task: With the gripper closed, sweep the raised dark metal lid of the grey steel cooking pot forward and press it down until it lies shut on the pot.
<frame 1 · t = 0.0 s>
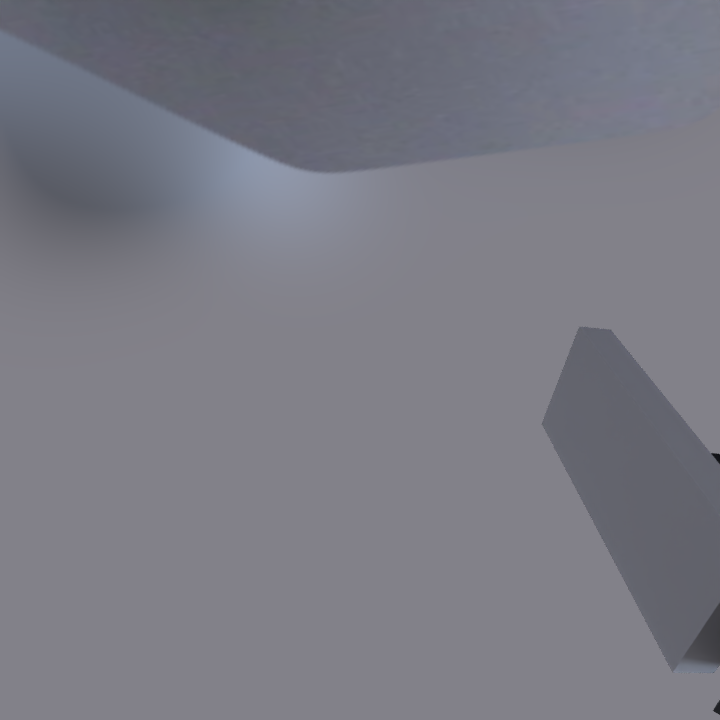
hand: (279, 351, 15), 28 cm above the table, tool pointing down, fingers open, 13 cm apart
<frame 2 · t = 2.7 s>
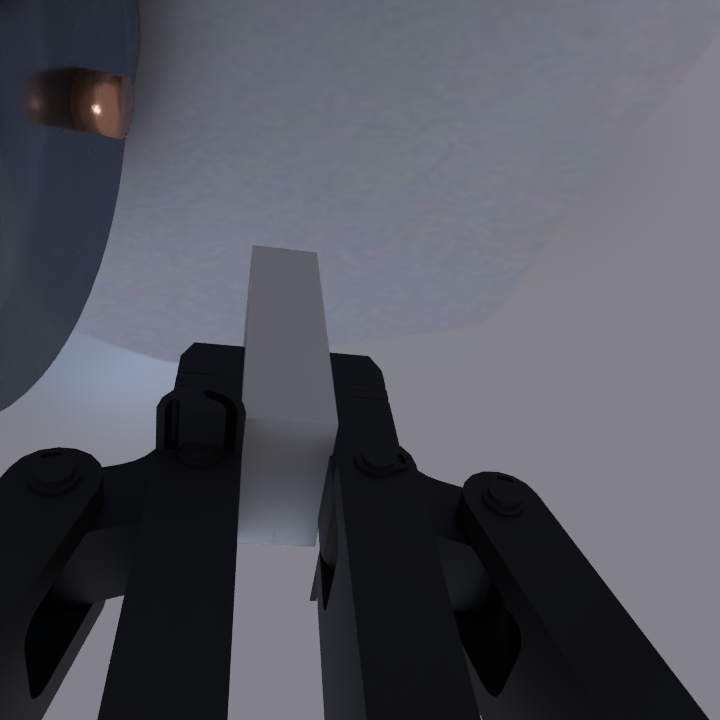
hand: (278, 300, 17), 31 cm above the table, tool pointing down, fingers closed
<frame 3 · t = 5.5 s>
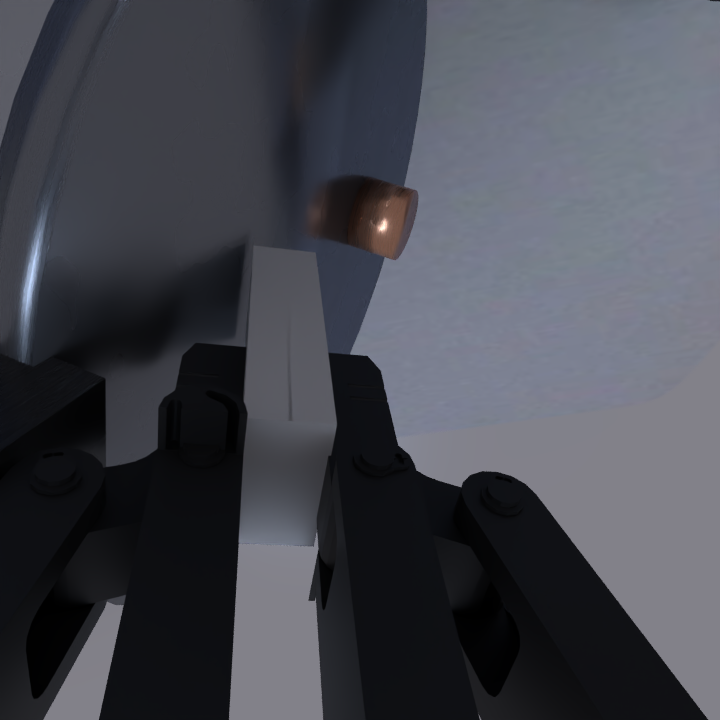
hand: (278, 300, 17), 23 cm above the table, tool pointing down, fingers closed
pot lid: (268, 286, 17), point 23 cm above the table, hinge at 62.5°, touching gripper
cooking pot: (158, 76, 35), on the table
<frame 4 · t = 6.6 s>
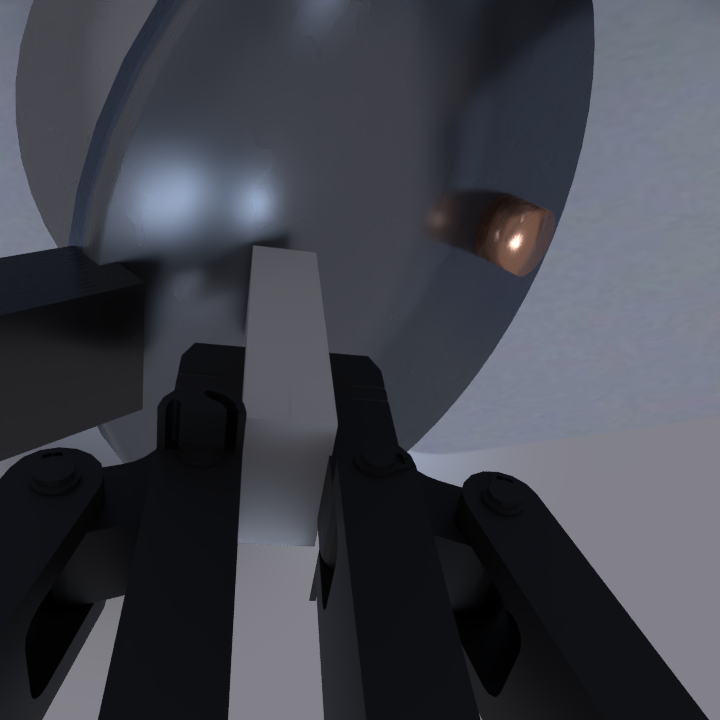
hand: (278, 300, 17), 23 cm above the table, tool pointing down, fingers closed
pot lid: (360, 266, 19), point 20 cm above the table, hinge at 40.2°, touching gripper
cooking pot: (289, 98, 36), on the table
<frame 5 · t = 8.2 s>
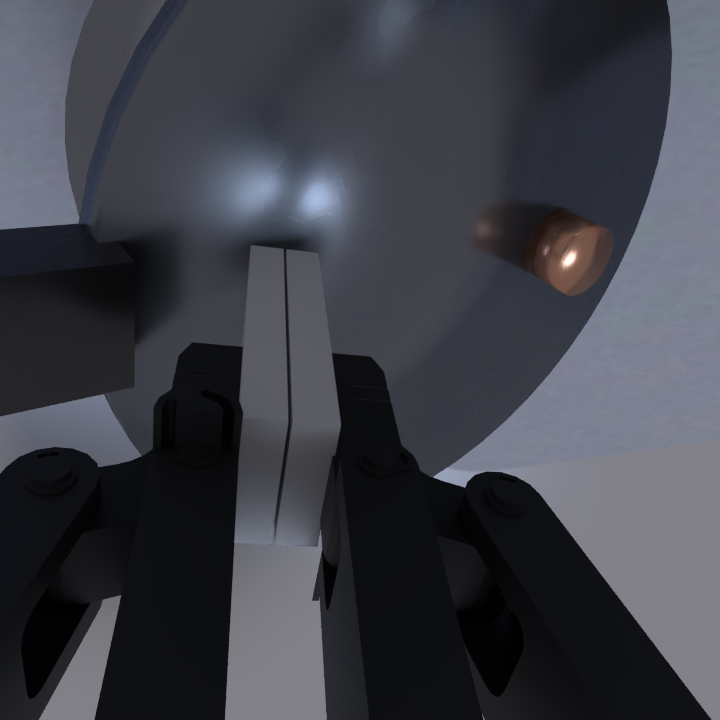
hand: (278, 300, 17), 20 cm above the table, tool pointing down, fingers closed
pot lid: (385, 270, 19), point 18 cm above the table, hinge at 29.9°
cooking pot: (335, 108, 34), on the table
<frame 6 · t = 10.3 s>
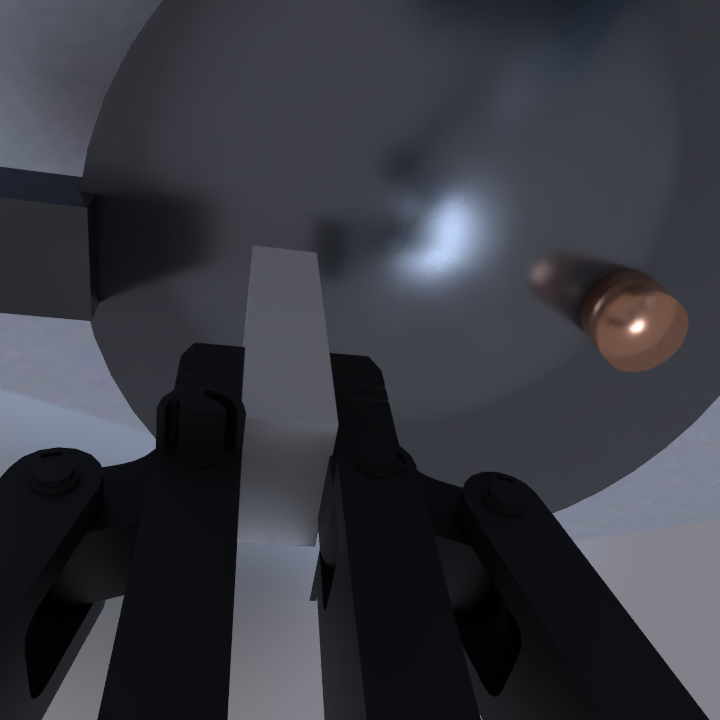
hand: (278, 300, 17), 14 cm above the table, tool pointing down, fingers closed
pot lid: (378, 284, 19), point 12 cm above the table, hinge at 0.0°, touching cooking pot
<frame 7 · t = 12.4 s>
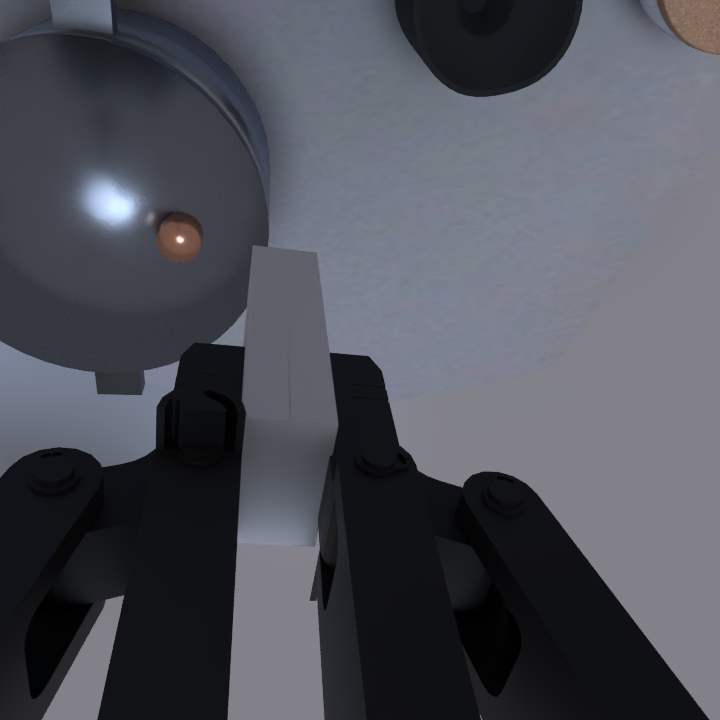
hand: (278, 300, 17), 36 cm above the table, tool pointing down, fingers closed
pot lid: (49, 226, 39), point 12 cm above the table, hinge at 0.0°, touching cooking pot
cooking pot: (129, 163, 50), on the table
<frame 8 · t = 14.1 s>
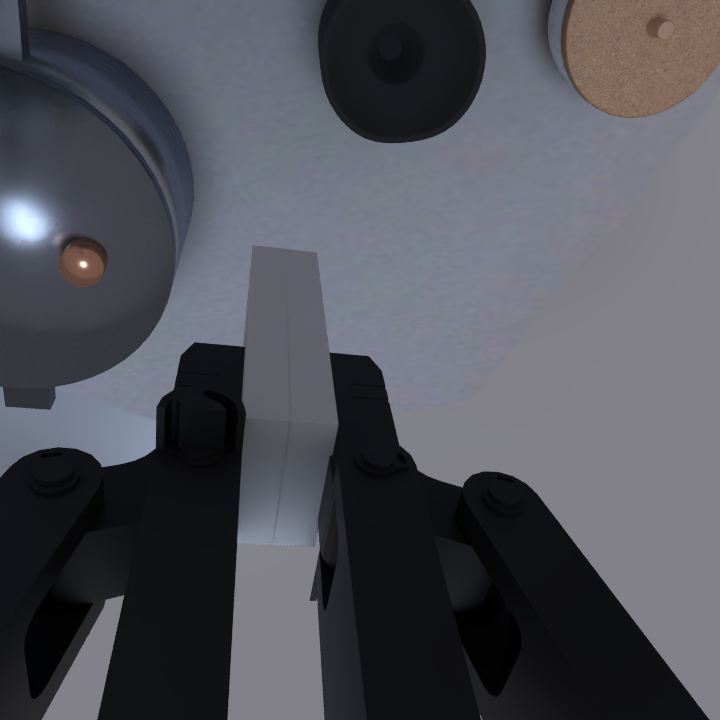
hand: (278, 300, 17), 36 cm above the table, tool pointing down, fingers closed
pen holder: (380, 36, 48), on the table
lidded jar: (601, 11, 48), on the table
cooking pot: (52, 179, 50), on the table
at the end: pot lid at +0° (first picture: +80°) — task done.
